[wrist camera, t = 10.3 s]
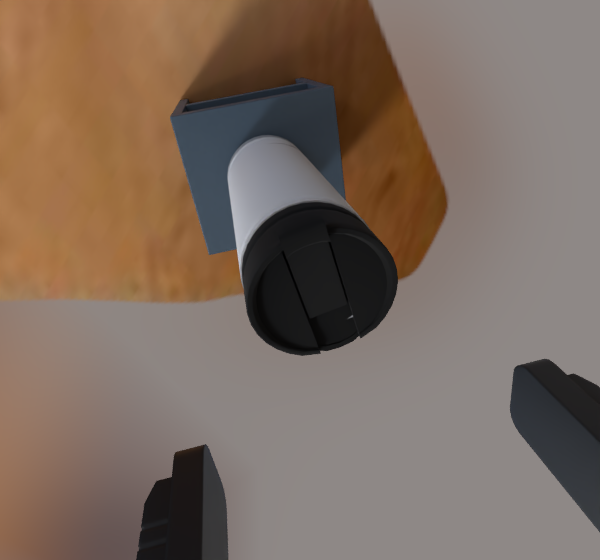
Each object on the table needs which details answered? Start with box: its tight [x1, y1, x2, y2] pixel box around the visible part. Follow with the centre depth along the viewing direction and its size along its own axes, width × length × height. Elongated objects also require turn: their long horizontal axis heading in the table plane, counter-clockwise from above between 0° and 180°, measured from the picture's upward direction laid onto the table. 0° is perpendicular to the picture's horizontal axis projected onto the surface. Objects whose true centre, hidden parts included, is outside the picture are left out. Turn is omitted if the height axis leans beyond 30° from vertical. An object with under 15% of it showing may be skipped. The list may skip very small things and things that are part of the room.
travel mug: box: [227, 135, 398, 356], centre depth 25 cm, size 6×7×20 cm
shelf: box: [170, 78, 346, 255], centre depth 39 cm, size 11×12×12 cm
